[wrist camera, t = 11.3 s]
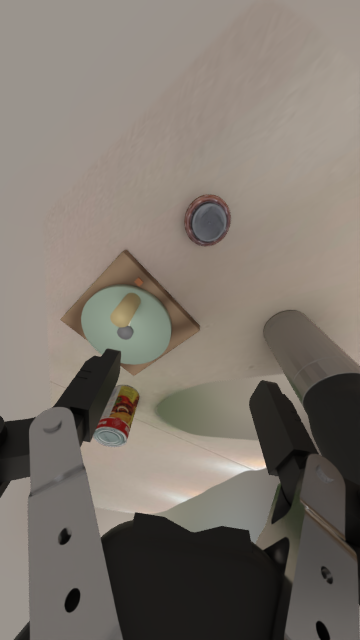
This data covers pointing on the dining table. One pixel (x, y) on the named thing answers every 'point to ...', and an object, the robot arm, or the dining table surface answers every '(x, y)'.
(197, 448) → the dining table surface
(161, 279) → the dining table surface
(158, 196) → the dining table surface
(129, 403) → the canned food
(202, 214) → the supplement bottle
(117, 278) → the base board
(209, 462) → the dining table surface
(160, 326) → the dial
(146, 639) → the robot arm
